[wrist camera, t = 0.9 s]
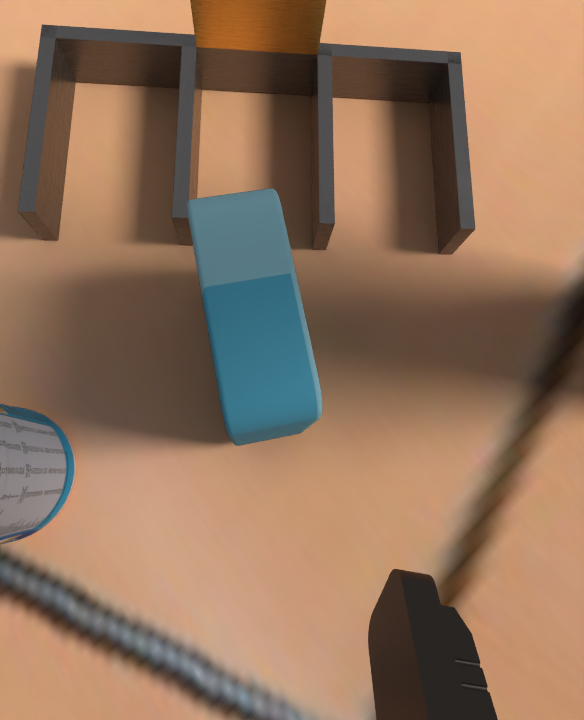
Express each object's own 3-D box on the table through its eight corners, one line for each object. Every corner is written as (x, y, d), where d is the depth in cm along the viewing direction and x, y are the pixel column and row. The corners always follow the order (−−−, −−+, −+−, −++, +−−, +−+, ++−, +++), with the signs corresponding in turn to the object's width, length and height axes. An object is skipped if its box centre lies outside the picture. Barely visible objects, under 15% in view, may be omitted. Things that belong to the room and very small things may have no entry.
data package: (205, 279, 36) (182, 186, 24) (267, 269, 36) (275, 174, 25) (234, 447, 33) (225, 434, 22) (301, 434, 34) (327, 414, 22)
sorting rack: (440, 92, 41) (492, -12, 32) (452, 254, 38) (512, 188, 29) (63, 69, 38) (7, -49, 30) (43, 239, 35) (-25, 163, 27)
